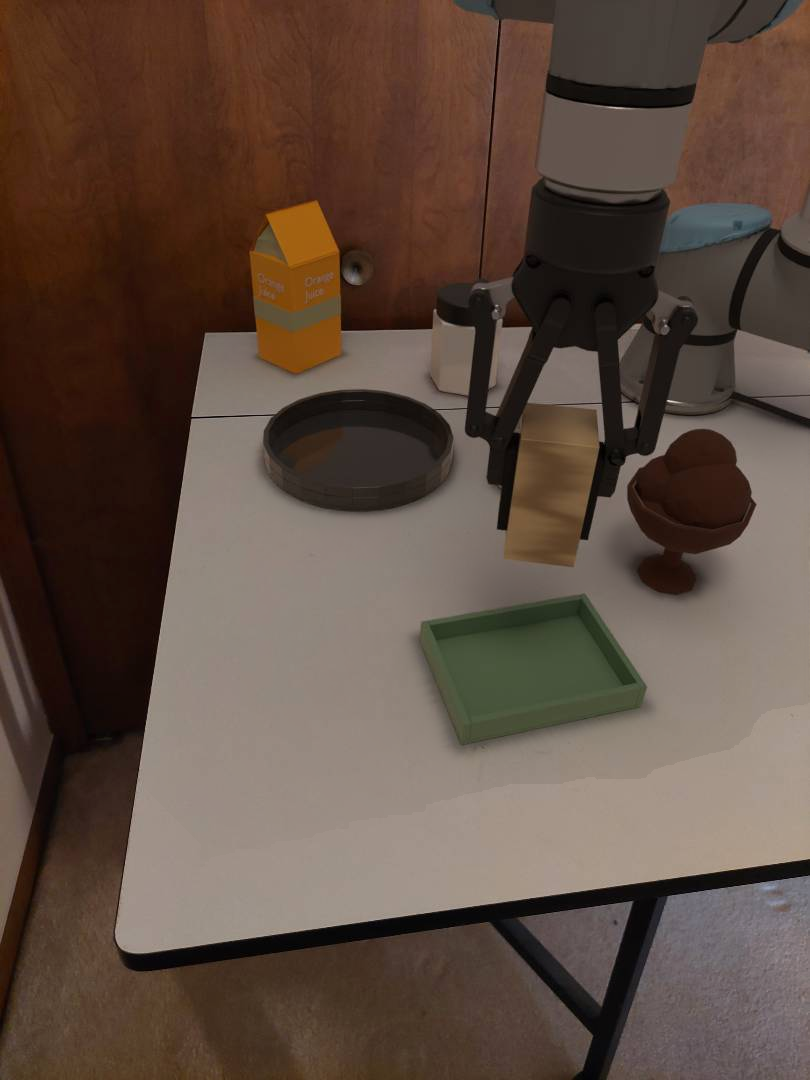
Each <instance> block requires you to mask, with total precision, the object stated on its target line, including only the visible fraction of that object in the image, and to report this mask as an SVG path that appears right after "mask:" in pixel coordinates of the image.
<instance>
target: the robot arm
mask: <svg viewBox="0 0 810 1080" xmlns="http://www.w3.org/2000/svg"><path fill="white" fill-rule="evenodd" d="M451 1H452V3H453V4H455V5H456V6H457V7H458V8H459V9H461V10H463V11H466V12H470V13H474V14H478V15H479V14H480V15H485V16H486V15H487V16H489V17H492V18H493V19H494V20H495V21H504V20H510V21H511V20H512V21H521V22H529V23H540V24H550V25H553V27H552V35H551V43H550V44H551V45H550V52H549V62H548V70H546V72H547V73H546V79H545V88H544V90H543V97H542V104H541V112H540V120H539V128H538V134H537V135H538V136H537V142H536V152H535V158H534V159H535V161H534V168H535V171H536V172H537V174H538V175H539V176H541V178H540V179H539V180H537V181H536V183H535V184H533V185H532V187H531V193H530V199H529V208H528V209H529V210H528V218H527V226H526V234H525V241H524V249H523V255H522V257H521V261H520V262H519V264H517V267H516V268H515V269H514V271H513V274H512V276H511V277H506V278H503V279H499V280H495V281H488V279H486V278H483V277H482V278H477V279H475V280H474V281H473V282H472V283H473V285H472V288H471V292H470V296H469V300H468V304H469V308H470V312H471V316H472V320H473V324H474V327H475V339H474V348H473V357H472V367H471V376H470V385H469V394H468V396H467V403H466V413H465V423H464V433H465V434H466V436H468V437H469V438H472V439H477V438H480V439H483V440H484V441H486V442H487V444H488V447H489V453H488V461H487V469H486V477H485V478H486V481H487V484H488V485H493V486H498V485H500V486H502V488H500V497H499V503H498V504H499V505H498V513H497V514H498V515H497V521H496V530H497V531H505V532H506V531H507V526H508V519H509V512H510V505H511V498H512V491H513V484H514V477H515V470H516V463H517V456H518V445H519V433H516V432H514V431H515V429H516V426H517V424H518V422H519V420H520V417H521V415H522V413H523V411H524V409H525V406H526V404H527V402H528V403H529V400H530V397H531V396H532V393H533V390H534V388H535V387H536V385H537V382H538V380H539V377H540V375H541V373H542V371H543V369H544V366H545V364H547V362H548V361H549V358H550V356H551V354H552V352H553V350H554V349H565V348H566V349H567V348H573V347H575V348H578V349H581V350H584V351H587V352H595V353H597V361H598V374H599V375H598V376H599V385H600V387H599V388H600V398H601V408H602V409H601V410H602V411H601V412H602V420H603V434H604V441H601V440H599V452H598V457H597V461H596V466H595V471H594V475H593V480H592V485H591V489H590V494H589V499H588V503H587V508H586V512H585V517H584V522H583V526H582V531H581V536H580V540H579V541H581V540H582V541H589V537H590V533H591V528H592V524H593V520H594V515H595V511H596V506H597V501H598V497H601V498H612V496H613V495H614V494H615V491H616V488H617V484H618V480H619V475H620V471H621V467H622V466H624V465H625V463H626V460H627V457H628V456H631V455H636V454H638V455H639V456H642V457H648V456H650V455H652V454H653V453H654V452H655V450H656V447H657V443H658V439H659V435H660V431H661V428H662V423H663V419H664V416H665V413H669V414H676V415H687V416H689V415H692V416H693V415H696V416H697V415H705V414H711V413H715V412H718V411H721V410H723V409H724V408H726V407H727V406H729V404H730V403H731V402H732V400H734V401H739V402H740V403H744V404H746V405H748V406H751V407H754V408H757V409H760V410H763V411H765V412H768V413H771V414H773V415H776V416H779V417H781V418H784V419H786V420H788V421H791V422H795V423H798V424H800V425H804V426H807V427H810V417H807V416H804V415H800V414H798V413H794V412H792V411H789V410H786V409H784V408H781V407H778V406H777V405H773V404H771V403H768V402H766V401H762V400H760V399H756V398H754V397H751V396H750V395H749V396H748V395H747V394H744V393H743V394H742V393H740V392H737V391H735V389H736V362H735V361H736V360H735V339H736V336H737V333H738V331H739V332H743V333H747V334H750V335H753V336H757V337H760V338H763V339H766V340H770V341H773V342H777V343H780V344H782V345H787V346H789V347H793V348H796V349H800V350H803V351H806V352H807V354H809V355H810V179H808V184H807V188H806V192H805V195H804V199H803V204H802V206H801V209H800V210H798V211H797V212H795V213H794V214H792V215H790V216H789V217H788V218H787V219H785V220H784V221H783V223H782V225H781V227H780V229H777V228H774V227H771V226H772V224H773V221H774V220H773V215H772V212H771V211H770V210H769V209H768V208H763V207H762V206H760V205H754V204H749V203H737V202H735V203H734V202H712V203H711V202H710V203H709V202H708V203H701V204H694V205H689V206H685V207H682V208H680V209H677V210H676V211H674V212H673V213H672V214H671V215H670V216H669V217H668V214H669V209H670V205H671V199H670V198H669V196H668V193H667V191H666V189H667V188H668V187H669V186H672V184H674V183H675V182H676V179H677V176H678V170H679V166H680V161H681V156H682V153H683V148H684V144H685V143H684V142H685V140H686V139H685V138H686V135H687V130H688V124H689V120H690V115H691V110H692V106H693V101H694V99H695V95H696V89H697V83H698V80H699V77H700V72H701V67H702V63H703V60H704V56H705V51H706V48H707V45H714V44H722V43H729V44H731V45H734V44H741V43H743V42H744V41H746V40H753V39H754V38H755V37H756V36H758V35H762V34H763V33H766V32H769V31H770V30H772V29H774V28H776V27H778V26H780V24H782V23H783V22H785V21H786V20H787V19H788V18H789V17H791V16H792V14H794V12H796V10H798V8H799V7H800V6H801V5H802V4H803V3H804V1H805V0H451ZM514 299H515V301H516V302H517V304H518V306H519V308H520V310H521V311H522V312H523V314H524V316H525V318H526V320H527V322H528V323H529V325H530V326H531V329H530V331H529V335H528V338H527V341H526V344H525V346H524V349H523V351H522V353H521V356H520V358H519V360H518V363H517V365H516V368H515V370H514V371H513V374H512V377H511V379H510V381H509V384H508V386H507V388H506V391H505V393H504V395H503V398H502V400H501V402H500V405H499V407H498V409H497V412H496V414H492V413H490V412H487V404H488V396H489V389H490V388H489V381H490V373H491V365H492V357H493V349H494V341H495V333H496V325H497V320H499V319H501V318H502V319H503V318H505V316H506V314H507V308H508V303H509V302H510V301H511V300H514ZM640 320H641V324H640V326H639V328H638V330H637V331H636V333H635V334H634V337H633V338H632V340H631V342H630V344H629V345H628V347H627V348H626V350H625V352H624V354H623V355H622V356H621V358H620V352H619V351H620V349H619V340H620V339H621V338H622V337H623V336H624V335H625V334H626V333H627V332H628V331H630V330H631V329H632V328H633V327H634V326H635V325H636V324H637V323H638V322H639V321H640ZM622 394H623V395H624V396H625V397H627V398H628V399H630V400H632V401H633V402H635V403H637V404H638V407H637V412H636V416H635V421H634V425H633V427H627V428H625V427H624V416H623V413H624V412H623V401H622V399H623V397H622Z"/></svg>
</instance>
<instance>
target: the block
mask: <svg viewBox="0 0 810 1080" xmlns="http://www.w3.org/2000/svg"><path fill="white" fill-rule="evenodd" d="M599 441H600V436H599V423H598V410H597V409H595V408H584V407H572V406H564V405H556V404H555V405H554V404H545V403H536V402H528V403H527V404H526V406H525V409H524V411H523V413H522V415H521V422H520V429H519V445H518V456H517V463H516V470H515V477H514V484H513V491H512V498H511V505H510V512H509V519H508V526H507V531H505V535H504V536H505V537H504V546H503V547H504V548H503V559H504V560H510V561H518V562H523V563H524V562H526V563H532V564H533V563H534V564H541V565H551V566H558V567H564V568H565V567H566V568H574V567H575V563H576V560H577V559H576V558H577V553H578V549H579V545H580V541H581V540H580V536H581V531H582V526H583V522H584V517H585V512H586V508H587V503H588V499H589V494H590V489H591V485H592V480H593V475H594V471H595V466H596V461H597V457H598V452H599Z"/></svg>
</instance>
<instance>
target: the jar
mask: <svg viewBox="0 0 810 1080" xmlns="http://www.w3.org/2000/svg"><path fill="white" fill-rule="evenodd" d="M472 285H473V282H454V283H449V284H447V285H443V286H442V287H440V288H439V289H438V291H437V293H436V308H434V309H433V313H432V315H433V316H432V334H431V350H430V351H431V352H430V368H429V369H430V370H429V375H430V377H431V379H432V381H433V383H434V384H435V386H436V388H437V390H438V391H439V392H443V393H449V394H456V395H461V396H466V397H468V394H469V385H470V376H471V367H472V357H473V348H474V339H475V327H474V324H473V320H472V316H471V312H470V308H469V304H468V300H469V296H470V292H471V288H472ZM503 322H504V321H503V318H501V319H499V320H497V325H496V333H495V341H494V349H493V357H492V365H491V373H490V381H489V389H492V388H494V387H495V386H496V384H497V375H498V366H499V357H500V347H501V340H502V331H503V330H502V329H503Z"/></svg>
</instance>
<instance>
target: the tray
mask: <svg viewBox="0 0 810 1080" xmlns="http://www.w3.org/2000/svg"><path fill="white" fill-rule="evenodd" d="M419 643H420V646H421V648H422V650H423V654H424V656H425V659H426V660H427V663H428V665H429V668H430V670H431V673H432V675H433V678H434V680H435V682H436V683H435V684H436V685H437V688H438V690H439V693H440V695H441V698H442V700H443V702H444V703H443V704H444V705H445V708H446V710H447V713H448V715H449V718H450V721H451V723H452V726H453V727H454V730H455V733H456V735H457V738H458V740H459V742H460V745H463V746H464V745H467V744H471V743H476V742H481V741H487V740H491V739H496V738H499V737H504V736H505V737H506V736H509V735H514V734H519V733H523V732H524V733H525V732H528V731H533V730H537V729H542V728H546V727H547V728H548V727H552V726H557V725H561V724H565V723H571V722H576V721H580V720H585V719H589V718H593V717H599V716H603V715H608V714H613V713H617V712H622V711H627V710H631V709H637V708H641V707H642V704H643V701H644V697H645V694H646V692H647V689H648V686H647V684H646V682H645V681H644V680H643V678H642V677H641V675H640V674H639V671H638V670H637V669H636V667H635V666H634V664H633V663H632V662H631V660H630V658H629V657H628V656H627V654H626V653H625V651H624V650H623V648H622V647H621V646H620V643H619V642H618V640H617V639H616V638H615V636H614V635H613V633H612V631H611V630H610V629H609V627H608V625H607V624H606V623H605V621H604V620H603V618H602V617H601V615H600V614H599V612H598V611H597V609H596V608H595V606H594V605H593V603H592V602H591V600H590V599H589V598H588V595H587V594H586V593H585V592H584V593H580V594H573V595H567V596H562V597H561V596H560V597H556V598H550V599H545V600H539V601H538V600H537V601H532V602H528V603H527V602H526V603H521V604H515V605H510V606H505V607H504V606H503V607H498V608H492V609H487V610H480V611H475V612H469V613H463V614H457V615H452V616H446V617H440V618H434V619H429V620H423V621H422V620H421V621H420V634H419Z"/></svg>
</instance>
